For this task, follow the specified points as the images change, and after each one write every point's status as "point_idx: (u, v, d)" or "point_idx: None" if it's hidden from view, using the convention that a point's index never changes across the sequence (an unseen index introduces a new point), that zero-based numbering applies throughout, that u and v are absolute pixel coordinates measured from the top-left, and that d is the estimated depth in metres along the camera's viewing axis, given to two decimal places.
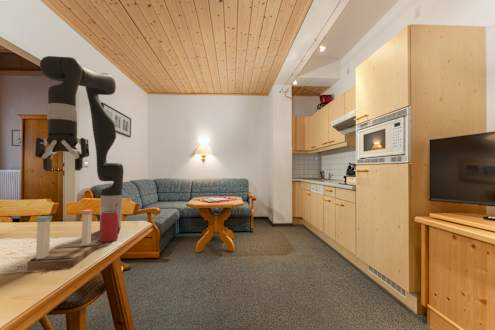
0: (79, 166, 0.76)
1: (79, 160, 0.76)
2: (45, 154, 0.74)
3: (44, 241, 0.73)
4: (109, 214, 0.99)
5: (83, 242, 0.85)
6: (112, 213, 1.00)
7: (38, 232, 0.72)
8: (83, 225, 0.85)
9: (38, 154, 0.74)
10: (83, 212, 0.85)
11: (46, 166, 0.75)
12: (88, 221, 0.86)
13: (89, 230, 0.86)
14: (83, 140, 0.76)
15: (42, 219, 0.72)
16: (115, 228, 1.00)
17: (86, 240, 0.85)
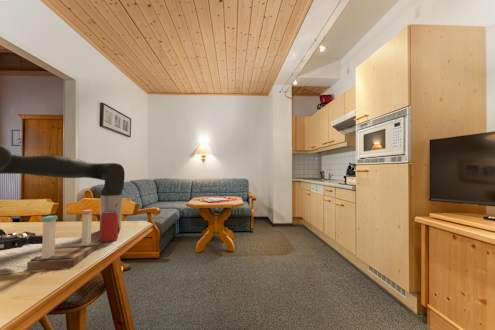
0: (38, 242, 0.72)
1: None
2: None
3: (50, 241, 0.73)
4: (109, 214, 0.99)
5: (83, 242, 0.85)
6: (112, 213, 1.00)
7: (44, 232, 0.72)
8: (83, 225, 0.85)
9: None
10: (83, 212, 0.85)
11: None
12: (88, 221, 0.86)
13: (89, 230, 0.86)
14: None
15: (48, 219, 0.72)
16: (115, 228, 1.00)
17: (86, 240, 0.85)
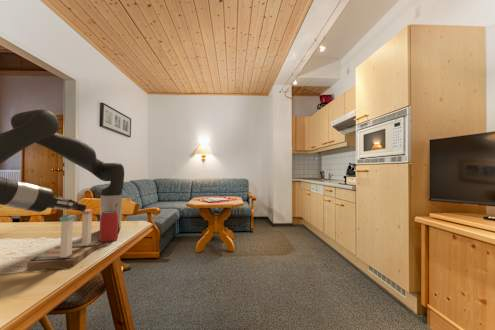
0: (82, 209, 0.83)
1: (77, 208, 0.82)
2: None
3: (68, 240, 0.74)
4: (109, 214, 0.99)
5: (83, 242, 0.85)
6: (112, 213, 1.00)
7: (62, 231, 0.73)
8: (83, 225, 0.85)
9: None
10: (83, 212, 0.85)
11: (78, 210, 0.84)
12: (88, 221, 0.86)
13: (89, 230, 0.86)
14: (69, 207, 0.75)
15: (66, 218, 0.73)
16: (115, 228, 1.00)
17: (86, 240, 0.85)
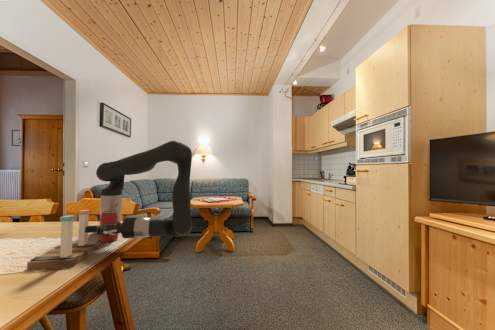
0: None
1: None
2: None
3: (68, 240, 0.74)
4: (109, 214, 0.99)
5: (80, 242, 0.84)
6: (112, 213, 1.00)
7: (62, 231, 0.73)
8: (80, 225, 0.85)
9: None
10: (80, 212, 0.84)
11: None
12: (85, 221, 0.85)
13: None
14: None
15: (66, 218, 0.73)
16: None
17: (83, 240, 0.85)
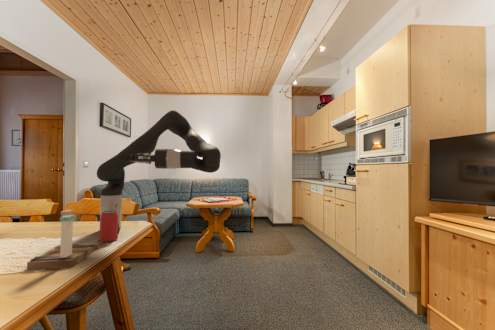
0: None
1: None
2: (134, 161, 0.89)
3: (68, 240, 0.74)
4: (109, 214, 0.99)
5: None
6: (112, 213, 1.00)
7: (62, 231, 0.73)
8: None
9: (133, 161, 0.88)
10: (63, 212, 0.83)
11: None
12: None
13: None
14: None
15: (66, 218, 0.73)
16: (115, 228, 1.00)
17: None
